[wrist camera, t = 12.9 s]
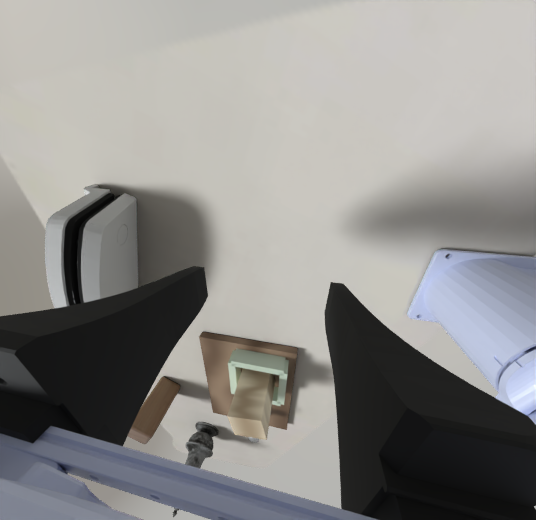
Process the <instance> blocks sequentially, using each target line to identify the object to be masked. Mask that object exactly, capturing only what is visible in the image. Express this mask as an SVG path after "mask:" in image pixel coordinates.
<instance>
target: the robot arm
mask: <svg viewBox="0 0 536 520" xmlns="http://www.w3.org/2000/svg"><path fill="white" fill-rule="evenodd" d="M447 254H449V256H448V257H445V256H446V255H447ZM207 297H208V293H207V285H206V278H205V271H204V267H196V266H194V267H190V268H188V269H185V270H182V271H180V272H177V273H175V274H172V275H170V276H167V277H165V278H162V279H160V280H157V281H155V282H152V283H149V284H147V285H144V286H141V287H139V288H136V289H133V290H130V291H127V292H123V293H120V294H117V295H113V296H110V297H106V298H102V299H98V300H93V301H89V302H85V303H81V304H76V305H71V306H66V307H60V308H55V309H50V310H43V311H36V312H29V313H23V314H15V315H8V316H1V317H0V520H142V519H139V518H137V517H134V516H132V515H129V514H126V513H123V512H120V511H117V510H114V509H112V508H111V507H109V506H108V505H107V504H105V503H104V502H102V501H101V500H99V499H98V498H97V497H96V496H95V495H94V494H93V493H92V492H90V491H89V489H88V488H87V486H86V485H85V483H83V482H81V481H79V480H77V479H75V478H73V477H71V476H69V475H67V473H70V474H73V475H76V476H79V477H82V478H85V479H89V480H91V481H95V482H98V483H101V484H104V485H107V486H110V487H113V488H116V489H119V490H122V491H125V492H129V493H131V494H135V495H138V496H141V497H144V498H147V499H150V500H153V501H156V502H159V503H162V504H165V505H168V506H172V507H174V508H177V509H180V510H183V511H186V512H190V513H193V514H196V515H199V516H202V517H205V518H208V519H211V520H536V509H535V508H534V506H536V257H530V256H518V255H506V254H494V253H482V252H470V251H459V250H447V249H440V250H437V251H436V252H435V253H434V255H433V257H432V260H431V262H430V264H429V266H428V268H427V271H426V273H425V275H424V277H423V279H422V282H421V284H420V286H419V288H418V290H417V293H416V295H415V297H414V299H413V301H412V304H411V306H410V308H409V310H408V313H407V315H408V317H409V318H411V319H417V320H424V321H431V322H438V323H439V324H440V325H441V326H442V327H443V328H444V330H445V331H446V332H447V333H448V334H449V335H450V337H451V338H452V339H453V340H454V341H455V342H456V343H457V345H458V346H459V347H460V348H461V349H462V351H463V352H464V353H465V354H466V355H467V356H468V358H469V359H470V360H471V361H472V362H473V363H474V365H475V366H476V367H477V368H478V369H479V370H480V372H481V373H482V374H483V375H484V376H485V377H486V379H487V380H488V381H489V382H490V383H491V385H492V386H493V387H494V388H495V389H496V390H497V392H498V394H497V396H496V397H495V398H494V397H492V396H491V395H489V394H487V393H485V392H483V391H482V390H479V389H478V388H476V387H474V386H473V385H471V384H469V383H468V382H466V381H464V380H463V379H461V378H459V377H457V376H456V375H454V374H453V373H451V372H449V371H448V370H446V369H445V368H443V367H441V366H440V365H438V364H437V363H435V362H433V361H432V360H431V359H429V358H428V357H426V356H425V355H423V354H422V353H420V352H419V351H418V350H416V349H415V348H413V347H412V346H410V345H409V344H408V343H406V342H405V341H404V340H402V339H401V338H400V337H399V336H397V335H396V334H395V333H393V332H392V331H391V330H390V329H388V328H387V327H386V326H385V325H384V324H383V323H382V322H380V321H379V320H378V319H377V318H376V317H375V316H374V315H373V314H372V313H371V312H370V311H369V310H368V309H367V308H366V307H365V306H364V305H363V304H362V303H361V302H360V301H359V300H358V299H357V298H356V297H355V296H354V295H353V294H352V293H351V292H350V291H349V289H348V288H347V287H346V286H345V285H344V284H341V283H333V282H331V284H330V289H329V294H328V299H327V304H326V309H325V328H326V335H327V341H328V346H329V352H330V357H331V363H332V368H333V375H334V383H335V395H336V408H337V423H338V439H339V458H340V481H341V507H342V509H339V508H336V507H332V506H329V505H325V504H322V503H319V502H315V501H311V500H308V499H305V498H301V497H298V496H294V495H290V494H287V493H283V492H279V491H277V490H273V489H269V488H266V487H262V486H259V485H256V484H252V483H248V482H245V481H242V480H238V479H235V478H231V477H228V476H224V475H221V474H217V473H214V472H210V471H206V470H203V469H200V468H196V467H193V466H189V465H186V464H182V463H179V462H175V461H172V460H168V459H165V458H161V457H158V456H154V455H151V454H147V453H144V452H140V451H137V450H133V449H130V448H127V447H123V444H124V442H125V440H126V437H127V436H128V433H129V431H130V429H131V427H132V425H133V423H134V421H135V419H136V416H137V414H138V412H139V410H140V408H141V406H142V404H143V402H144V400H145V398H146V396H147V394H148V392H149V390H150V389H151V387H152V385H153V383H154V381H155V379H156V377H157V376H158V374H159V372H160V370H161V368H162V367H163V365H164V363H165V361H166V360H167V358H168V356H169V355H170V353H171V351H172V350H173V348H174V347H175V345H176V344H177V342H178V341H179V339H180V338H181V337H182V335H183V334H184V333H185V331H186V330H187V328H188V327H189V326H190V324H191V323H192V322H193V320H194V319H195V317H196V316H197V315H198V313H199V312H200V310H201V308H202V307H203V305H204V303H205V301H206V299H207ZM419 314H420V315H419ZM417 315H418V316H417Z"/></svg>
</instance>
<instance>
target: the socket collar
mask: <svg viewBox="0 0 536 520" xmlns="http://www.w3.org/2000/svg"><path fill="white" fill-rule="evenodd" d="M288 364H289V360H285V357H282V356H276V355H271V354H265V353H259V352H254V351H248V350H243V349H237V348H236V350H233V352H232V354H231V357H230V359H229V362H228V368H229V378H230V388H231V394H235V391H236V387H237V384H238V381H239V378H240V375H241V368H245V369H250V370H255V371H260V372H265V373H271V374H276V375H280V376H279V387H275V386H274V393H273V400H272V404H273V405H277V406H280V405H281V404H282V405H284V401H285V392H286V383H287V375H288Z"/></svg>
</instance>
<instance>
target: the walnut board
mask: <svg viewBox="0 0 536 520" xmlns="http://www.w3.org/2000/svg"><path fill="white" fill-rule="evenodd" d="M199 338H200V343H201V349H202V354H203V360H204V365H205V371H206V376H207V382H208V387H209V392H210V398H211V403H212V409H213V413H218V414H222V415H226V416H228V413H229V409H230V406H231V403H232V400H233V397H234V394H231V388H230V378H229V368H228V362H229V359H230V357H231V354H232V352H233V350H236V348H237V349H243V350H248V351H254V352H259V353H265V354H271V355H276V356H282V357H285V360H289V364H288V375H287V383H286V392H285V401H284V405H282V404H281V405H280V406H277V405H273V404H272V407H271V415H270V420H269V426H273V427H277V428H281V429H285V430H287V423H288V416H289V409H290V402H291V395H292V388H293V381H294V373H295V366H296V359H297V348H296V347H290V346H284V345H278V344H272V343H266V342H260V341H255V340H249V339H243V338H237V337H231V336H225V335H219V334H214V333H208V332H202V333H201V335H200V337H199ZM242 369H243V368H241V372H242ZM279 376H280V375H276V374H274V377H275V387H279Z"/></svg>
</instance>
